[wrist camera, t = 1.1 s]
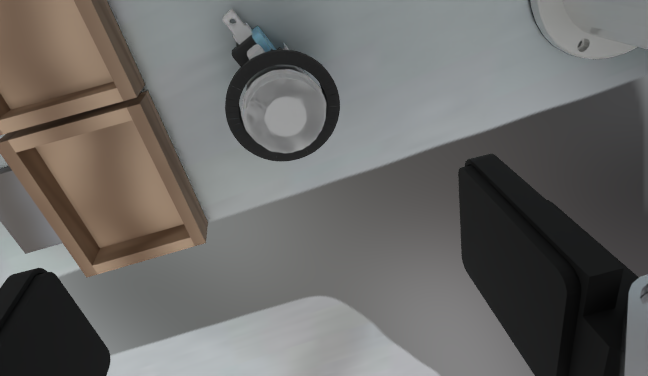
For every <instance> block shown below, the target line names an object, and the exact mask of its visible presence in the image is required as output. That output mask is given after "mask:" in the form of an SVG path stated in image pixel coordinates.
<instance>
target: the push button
mask: <svg viewBox="0 0 648 376" xmlns="http://www.w3.org/2000/svg"><path fill="white" fill-rule="evenodd" d="M230 19H235V20H236V22H235V23H231V22H230ZM223 22H224V23H225V24H226V26H227V27H228V28H229V29H230V30H231V32H232V33H233V35H234V36H233V38H234V39H235V40H236V42H237V47H235V48H234V49H233V50H232V56H233V58H234V59H235V60H236V61H237V63H238V64H239V65H240V66H241V68H240V69H239V70H238V71H237V72H236V74H235V75H234V77H233V78H232V80H231V82H230V85H229V87H228V91H227V95H226V105H225V110H226V117H227V122H228V125H229V127H230V130H231V132H232V133H233V135H234V137H235V138H236V139H237V141H238V142H239V143H240V144H241V145H242V146H243V147H244V148H245V149H247V150H248V151H249V152H251V153H253V154H254V155H257V156H259V157H261V158H264V159H268V160H272V161H291V160H296V159H300V158H303V157H305V156H307V155H309V154H311V153H313V152H315V151H316V150H317V149H319V148H320V147H321V146H322V145H323V144H324V143H325V142H326V141H327V140H328V138H329V137H330V136H331V134H332V132H333V131H334V129H335V126H336V124H337V121H338V117H339V111H340V101H339V94H338V90H337V87H336V85H335V83H334V80H333V79H332V77H331V76H330V74H329V73H328V71H327V70H326V69H325V68H324V67H323V66H322V65H321V64H320V63H319V62H318V61H316V60H315V59H313V58H312V57H310V56H308V55H306V54H303V53H301V52H297V51H293V50H289V48H288V47H287V46H286V44H285V43H283V44H284V48H283V49H281V48H280V47H279V48H278V49H277V50H276V48H275V47H274V46H273V44H272V43H271V42H270V41H269V39H268V38H267V37H266V35H265V34H264V33H263V32H262V30H261V29H260V28H259V27H258V26H257V27H255V28H254V29H253V30H252V29H251V27H250V26H249V25H248V24H247V22H246V23H245V24H244V23H243V21H242V20H241V19H240V18H239V16H238V15H237V14H236V13H235V11H234V10H232V9H231V10H230V11H229V12H227V13H226V14H225V15H224V16H223ZM299 67H300V68H302V69H304V70H306V71H308V72H309V73H311V74H312V75H313V76H314V77H315V78H316V79H317V80H318V81H319V83H320V86H321V88H320V87H319V85H317V84H316V83H315V82H314V81H313V80H312V79H311V78H310V77H309V76H308V74H306V73H305V72H303V71H302V70H301V69H300V68H299ZM246 84H247V89H246V93H245V94H244V97H243V102H242V107H241V111H240V107H239V99H240V95H241V93H242V90H243V88H244V87H245V85H246ZM321 89H322V91H321Z"/></svg>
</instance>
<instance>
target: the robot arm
mask: <svg viewBox="0 0 648 376" xmlns="http://www.w3.org/2000/svg"><path fill="white" fill-rule="evenodd" d="M530 2H531V8H532V11H533V15H534V18H535V21H536V23H537V25H538V27H539V29H540V30H541V32H542V34H543V35H544V36H545V38H546V39H547V40H548V41H549V42H550V43H551V44H552V45H553V46H555V47H557V48H558V49H560V50H562V51H564V52H565V53H568V54H571V55H574V56H577V57H580V58H587V59H605V58H611V57H615V56H618V55H622V54H625V53H627V52H630V51H632V50H634V49H636V48H638V47H640V48H644V49H647V50H648V0H530ZM458 176H459V199H460V224H461V249H462V260H463V264H464V267H465V269H466V271H467V273H468V274H469V276H470V278H471V279H472V280H473V282H474V284H475V285H476V287H477V288H478V290H479V291H480V293H481V294H482V296H483V297H484V299H485V300H486V302H487V303H488V305H489V307H490V308H491V310H492V311H493V313H494V314H495V316H496V317H497V318H498V320H499V322H500V323H501V324H502V326H503V328H504V329H505V331H506V332H507V334H508V335H509V337H510V338H511V340H512V342H513V343H514V345H515V346H516V348H517V349H518V351H519V352H520V354H521V355H522V357H523V358H524V360H525V361H526V363H527V364H528V366H529V367H530V369H531V370H532V372H533V373H534V375H535V376H648V274H647V275H645V276H642V277H638V276H636V275H635V274H634V273H633V272H632V271H631V270H629V269H628V268H627V267H626V266H625V265H624V264H623V263H621V262H620V261H619V260H618V259H617V258H616V257H614V256H613V255H612V254H611V253H610V252H609V251H607V250H606V249H605V248H604V247H603V246H602V245H601V244H599V243H598V242H597V241H596V240H595V239H594V238H593V237H591V236H590V235H589V234H588V233H587V232H586V231H584V230H583V229H582V228H581V227H580V226H579V225H578V224H576V223H575V222H574V221H573V220H572V219H571V218H569V217H568V216H567V215H566V214H565V213H564V212H562V211H561V210H560V209H559V208H558V207H557V206H556V205H554V204H553V203H552V202H550V201H549V200H546V199H545V198H543V197H542V196H541V195H540V194H539V193H538V192H536V191H535V190H534V189H533V188H532V187H531V186H530V185H529V184H527V183H526V182H525V181H524V180H523V179H522V178H521V177H519V176H518V175H517V174H516V173H515V172H514V171H513V170H511V169H510V168H509V167H508V166H507V165H506V164H504V163H503V162H502V161H501V160H500V159H499V158H498V157H497V156H495V155H494V154H488V155H484V156H480V157H476V158H472V159H468V160H467V161H466V163H465V167H462V168H460V169H459V174H458ZM109 366H110V353H109V350H108V348H107V347H106V345H105V344H104V342H103V341H102V340H101V339H100V337H99V336H98V334H97V333H96V331H95V330H94V328H93V327H92V325H91V324H90V323H89V321H88V320H87V318H86V317H85V315H84V314H83V313H82V311H81V310H80V309H79V307H78V306H77V304H76V303H75V301H74V300H73V298H72V297H71V296H70V294H69V293H68V291H67V290H66V288H65V287H64V286H63V284H62V283H61V281H60V280H59V279H58V277H57V276H56V275H55V274H54V273H52V272H47V271H46V270H44V269H43V268H36V269H32V270H29V271H25V272H21V273H17V274H13V275H11V276H9V277H8V278H7V280H6V281H5V282H4V284H3V285H2V287H1V288H0V376H106V375H107V372H108V369H109Z"/></svg>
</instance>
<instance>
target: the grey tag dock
mask: <svg viewBox="0 0 648 376" xmlns="http://www.w3.org/2000/svg"><path fill="white" fill-rule="evenodd" d="M0 154H1V155H2V157H3V158H4V159H5V161H6V162H7V164H8V165H9V167H6V168H2V169H0V221H1V222H2V224H3V225H4V226H5V228H6V229H7V230H8V232H9V233H10V234H11V235H12V237H13V238H14V239H15V241H16V242H17V243H18V245H19V246H20V247H21V249H22V250H23V251H24V252H25V254H26V253H29V252H33V251H36V250H40V249H43V248H47V247H50V246H54V245H57V244H61V243H63V244H64V246H65V247H66V248H67V250H68V251H69V253H70V254H71V256H72V257H73V258H74V260H75V261H76V263H77V264H78V266H79V267H80V268H81V270H82V271H83V273H84V274H85V276H86V277H90V276H93V275H97V274H100V273H104V272H107V271H110V270H114V269H118V268H121V267H124V266H128V265H131V264H134V263H138V262H142V261H145V260H149V259H152V258H155V257H158V256H162V255H166V254H169V253H172V252H176V251H180V250H183V249H186V248H190V247H193V246H197V245H200V244H204V243H206V235H207V226H208V222H207V220H206V217H205V215H204V213H203V211H202V209H201V206H200V204H199V202H198V200H197V198H196V195H195V193H194V191H193V189H192V187H191V184H190V182H189V180H188V178H187V176H186V173H185V171H184V169H183V167H182V165H181V162H180V160H179V158H178V156H177V154H176V151H175V149H174V147H173V145H172V143H171V140H170V138H169V136H168V134H167V132H166V129H165V127H164V125H163V123H162V121H161V118H160V116H159V114H158V112H157V110H156V108H155V105H154V103H153V101H152V99H151V97H150V94H149V92H148V91H145V92H141V93H139V95H138V96H137V98H133V99H129V100H126V101H122V102H119V103H115V104H111V105H108V106H104V107H100V108H97V109H93V110H90V111H86V112H82V113H79V114H75V115H71V116H68V117H64V118H61V119H57V120H53V121H50V122H46V123H43V124H39V125H35V126H32V127H28V128H24V129H21V130H17V131H14V132H10V133H7V134H6V135H5V136H3V137H2V138H1V139H0Z"/></svg>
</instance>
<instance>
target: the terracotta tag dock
mask: <svg viewBox="0 0 648 376" xmlns="http://www.w3.org/2000/svg"><path fill="white" fill-rule="evenodd" d="M144 86H145V83H144V81H143V79H142V77H141V75H140V72H139V70H138V68H137V66H136V64H135V61H134V59H133V57H132V55H131V53H130V50H129V48H128V46H127V44H126V42H125V39H124V37H123V35H122V33H121V31H120V28H119V26H118V24H117V22H116V20H115V17H114V15H113V13H112V11H111V9H110V6H109V4H108V2H107V0H0V135H3V134H6V133H10V132H14V131H17V130H21V129H24V128H28V127H32V126H35V125H39V124H43V123H46V122H50V121H53V120H57V119H61V118H64V117H68V116H71V115H75V114H79V113H82V112H86V111H90V110H93V109H97V108H100V107H104V106H108V105H111V104H115V103H119V102H122V101H126V100H129V99H133V98H137V96H138V95H139V93H140V92H141V90H142V89H143V87H144Z"/></svg>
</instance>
